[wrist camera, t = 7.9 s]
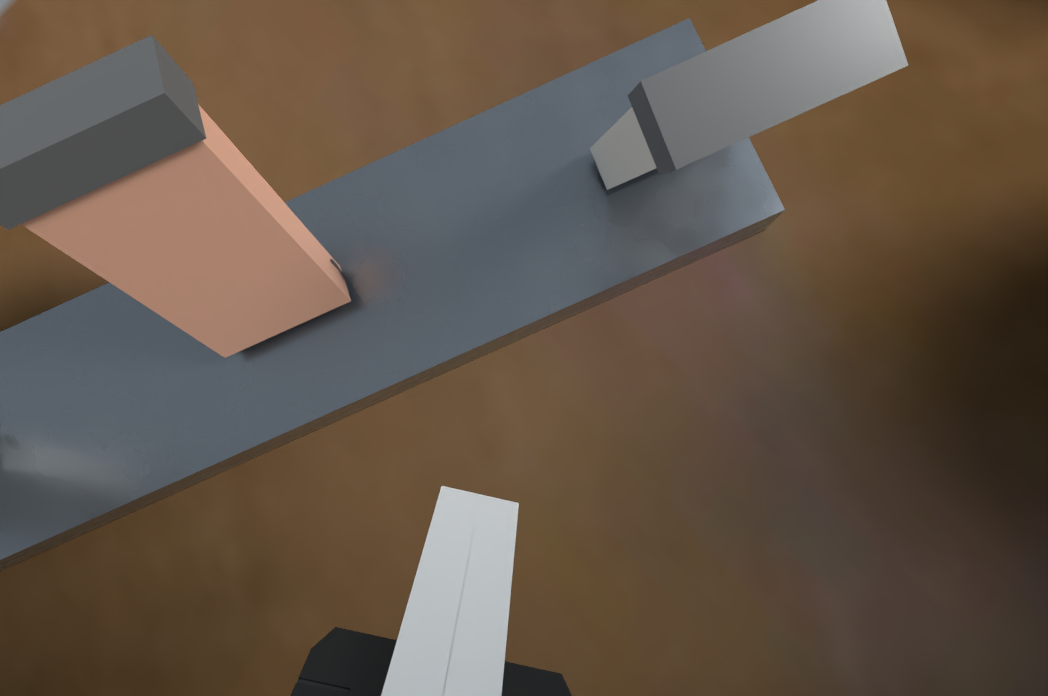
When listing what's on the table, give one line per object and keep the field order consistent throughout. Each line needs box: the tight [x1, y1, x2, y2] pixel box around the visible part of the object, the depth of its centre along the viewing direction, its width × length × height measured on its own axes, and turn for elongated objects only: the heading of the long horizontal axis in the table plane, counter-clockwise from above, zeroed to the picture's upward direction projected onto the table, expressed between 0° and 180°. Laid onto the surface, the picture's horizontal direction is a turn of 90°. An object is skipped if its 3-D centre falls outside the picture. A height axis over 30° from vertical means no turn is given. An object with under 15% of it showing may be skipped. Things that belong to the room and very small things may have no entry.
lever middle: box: [0, 35, 351, 358], centre depth 22 cm, size 2×5×11 cm, turn 114°
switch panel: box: [0, 18, 785, 571], centre depth 29 cm, size 8×36×3 cm, turn 114°
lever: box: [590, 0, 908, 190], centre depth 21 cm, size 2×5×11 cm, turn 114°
